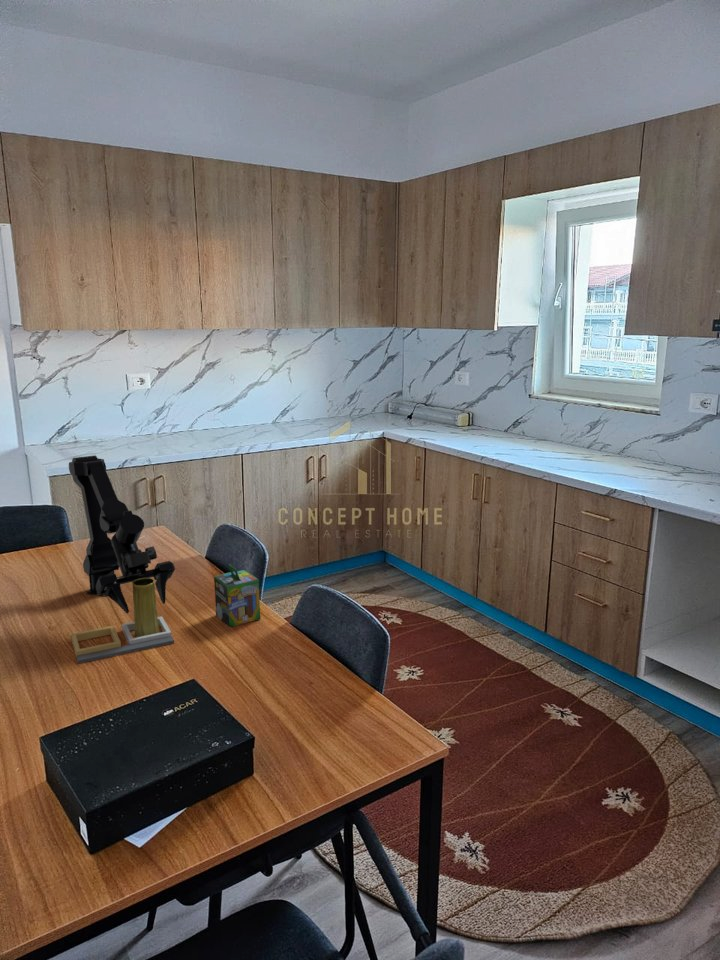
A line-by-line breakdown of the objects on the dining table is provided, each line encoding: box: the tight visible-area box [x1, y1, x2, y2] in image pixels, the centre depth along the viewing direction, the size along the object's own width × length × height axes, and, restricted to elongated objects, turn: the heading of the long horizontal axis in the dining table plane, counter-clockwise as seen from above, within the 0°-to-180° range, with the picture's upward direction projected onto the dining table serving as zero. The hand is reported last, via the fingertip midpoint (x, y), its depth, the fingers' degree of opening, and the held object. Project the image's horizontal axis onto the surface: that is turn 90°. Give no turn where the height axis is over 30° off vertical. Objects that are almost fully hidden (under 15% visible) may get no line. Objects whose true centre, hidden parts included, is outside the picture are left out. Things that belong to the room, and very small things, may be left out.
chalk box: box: [213, 563, 261, 628], centre depth 180 cm, size 9×9×15 cm
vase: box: [131, 577, 160, 638], centre depth 169 cm, size 6×6×14 cm
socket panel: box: [70, 616, 175, 664], centre depth 167 cm, size 22×12×2 cm, turn 118°
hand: (146, 607), depth 169 cm, fingers open, 9 cm apart
